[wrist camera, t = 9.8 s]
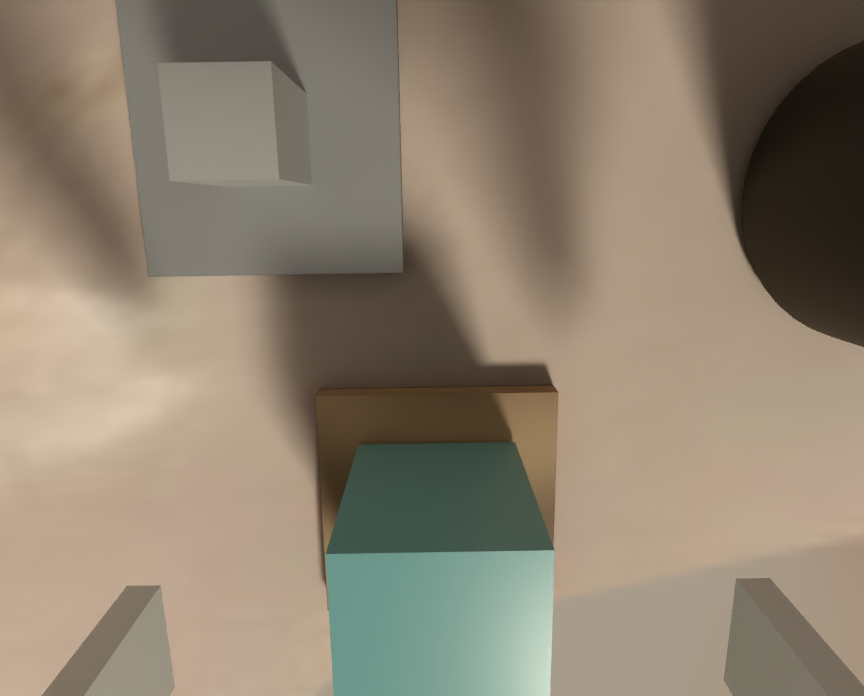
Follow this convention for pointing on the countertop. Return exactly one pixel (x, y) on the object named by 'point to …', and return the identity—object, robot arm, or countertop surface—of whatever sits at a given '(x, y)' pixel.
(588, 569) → the countertop surface
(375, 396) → the brown base with post
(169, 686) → the robot arm
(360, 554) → the teal rectangular block
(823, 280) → the mug
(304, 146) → the grey post
